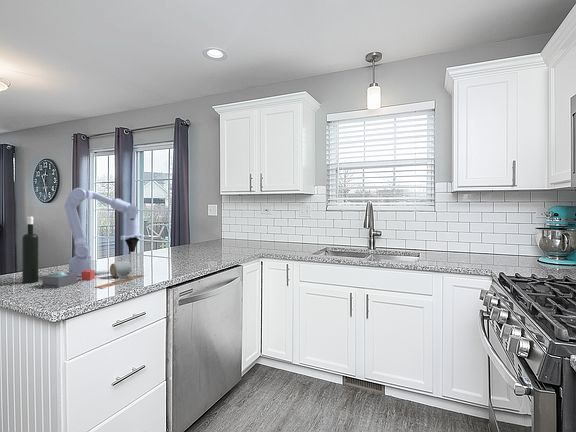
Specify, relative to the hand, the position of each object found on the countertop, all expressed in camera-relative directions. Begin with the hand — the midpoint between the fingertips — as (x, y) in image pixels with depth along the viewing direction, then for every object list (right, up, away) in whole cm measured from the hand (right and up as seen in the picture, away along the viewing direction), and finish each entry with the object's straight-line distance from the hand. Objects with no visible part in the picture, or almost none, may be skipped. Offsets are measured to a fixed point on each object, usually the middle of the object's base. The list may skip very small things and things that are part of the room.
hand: (132, 251), depth 176 cm
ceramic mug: (+1, -11, -13) cm, 17 cm away
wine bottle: (-33, -11, -28) cm, 45 cm away
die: (-11, -11, -20) cm, 26 cm away
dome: (-17, -10, -31) cm, 37 cm away
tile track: (+6, -12, -23) cm, 26 cm away
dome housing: (-17, -11, -31) cm, 37 cm away
